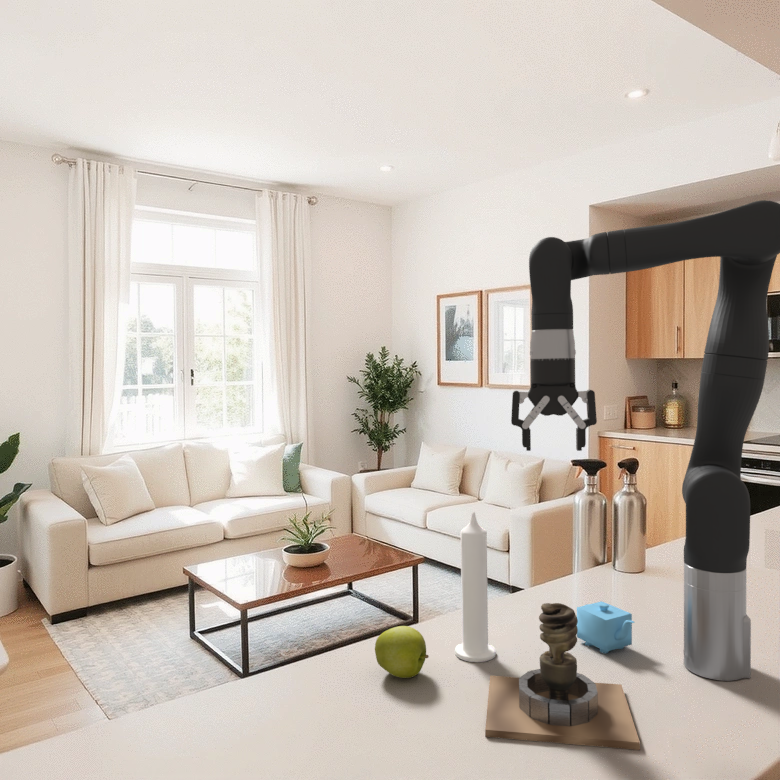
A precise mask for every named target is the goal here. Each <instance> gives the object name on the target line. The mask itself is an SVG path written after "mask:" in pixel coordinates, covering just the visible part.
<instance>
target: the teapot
mask: <svg viewBox="0 0 780 780" xmlns="http://www.w3.org/2000/svg"><path fill="white" fill-rule="evenodd" d="M632 614H633V613H631V612H629V611H626V610H624V609H621V608H619V607H617V606H614V605H612V604H609V603H607V602H604V601H601V600H600V601H597V602H594V603H588V604H584V605H582V606H577V607H576V616H577V619H578V623H577V628H578V632H577V635H576V637H577V639H580V640H582V641H584V645H585V646H588V647H592V646H594V647H596V648H598V649H599V652H600V653H601V654H609V652H610V651H615V650H617V649H618V650H623V649H624V647H628V646H632V644H633V629H632V628H633V627H632V626H633V624H635V623H636V622H635V621H634V620H633V615H632Z"/></svg>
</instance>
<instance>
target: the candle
mask: <svg viewBox="0 0 780 780" xmlns="http://www.w3.org/2000/svg"><path fill="white" fill-rule="evenodd" d="M487 533H488V532H487V530H486V529H485V528H484V527H482V526H481V525H480V524H479V522H478V520H477V516H476V512H475V511H472V512H471V515H470V519H469V523H468V524H467V525H465V527H463V528H462V529H461V530H460V578H461V579H460V581H461V582H460V583H461V584H460V586H461V587H460V588H461V589H460V590H461V643H459V644H457V645H456V646H455V648H454V654H455V655H456V657H457V658H458V659H460V660H462V661H466V662H470V663H485V662H488V661H491V660H492V659H494V658H495V657H496V648H495V647H494V645H492V644H489V623H488V622H489V617H488V616H489V615H488V614H489V610H488V608H489V607H488V605H489V603H488V597H489V596H488V541H487V540H488V537H487V536H488V534H487Z"/></svg>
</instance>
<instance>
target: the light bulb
mask: <svg viewBox="0 0 780 780" xmlns="http://www.w3.org/2000/svg"><path fill="white" fill-rule="evenodd" d="M540 610H541V611H542V613H540V614H539V615H538V620H539V622H540V624H539V630H540V632H542V633H540V635H539V639H540V640H541V641H542V642H543V643H545V644H546V645H547V646H548V648H549V649H548V650H546V651H545V652H542V653H541V654H540V656H539V669H540V672H541V676H542V678H543V680H544V681H545V683H546V684H547V685H548V689H549V699H553V700H567V701H568V699H569V698H568V694H569V688H570V687H571V685H572V684H573V683H574V682H575V680H576V676H577V673H578V672H577V671H578V663H577V662H578V661H577V658H576V657H575V656H574V655H572V653H570V652H569V651H571V650H573V649H574V648H575V647H576V645H577V643H578V637H577V632H578V628H577V623H578V619H577V614H576V612H575V610H574V609H573V608H571V607H570V606H568V605H566V604H564V603H561V602H560V603H559V602H555V603H554V602H553V603H551V602H545V603H542V604H541V606H540Z"/></svg>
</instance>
